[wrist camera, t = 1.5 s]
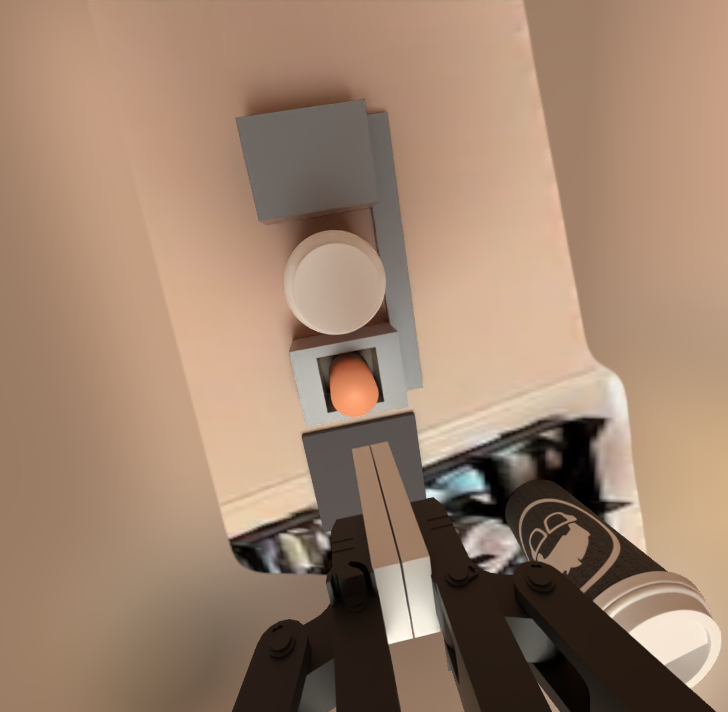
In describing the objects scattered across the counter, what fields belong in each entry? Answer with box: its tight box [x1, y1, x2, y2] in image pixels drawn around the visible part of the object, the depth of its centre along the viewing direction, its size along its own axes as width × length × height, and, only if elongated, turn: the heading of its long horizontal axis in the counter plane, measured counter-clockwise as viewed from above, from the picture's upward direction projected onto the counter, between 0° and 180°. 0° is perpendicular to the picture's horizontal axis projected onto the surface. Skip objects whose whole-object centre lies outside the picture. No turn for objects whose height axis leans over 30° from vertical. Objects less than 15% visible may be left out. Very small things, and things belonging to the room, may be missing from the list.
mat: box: [302, 412, 426, 532], centre depth 35 cm, size 10×10×1 cm
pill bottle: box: [283, 230, 386, 335], centre depth 25 cm, size 6×6×11 cm
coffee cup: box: [505, 480, 721, 688], centre depth 32 cm, size 10×10×15 cm
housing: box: [236, 99, 423, 427], centre depth 29 cm, size 21×10×4 cm, turn 9°
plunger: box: [329, 353, 379, 417], centre depth 28 cm, size 3×3×5 cm
